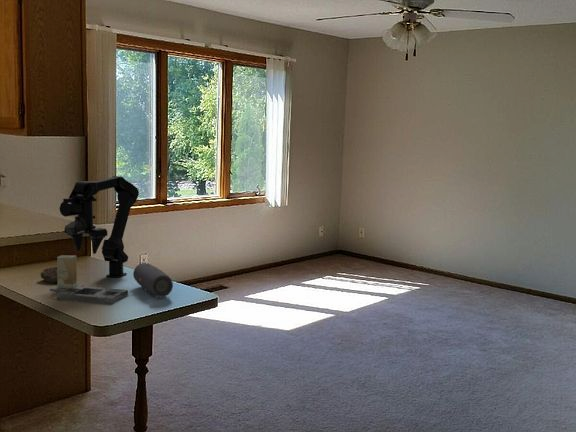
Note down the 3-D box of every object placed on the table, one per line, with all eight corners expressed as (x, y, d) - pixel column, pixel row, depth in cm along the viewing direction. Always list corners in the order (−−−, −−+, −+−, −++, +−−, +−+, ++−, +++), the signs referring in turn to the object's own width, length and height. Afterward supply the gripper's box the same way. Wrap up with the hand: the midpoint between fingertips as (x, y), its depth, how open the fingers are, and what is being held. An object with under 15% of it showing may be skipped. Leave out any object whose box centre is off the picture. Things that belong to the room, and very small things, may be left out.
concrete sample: (38, 280, 251) (38, 268, 250) (63, 276, 257) (62, 265, 256) (48, 286, 242) (48, 273, 241) (74, 282, 249) (73, 270, 248)
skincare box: (57, 288, 236) (55, 257, 235) (61, 285, 241) (60, 254, 239) (73, 288, 236) (72, 257, 234) (77, 285, 240) (76, 255, 239)
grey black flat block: (75, 290, 235) (75, 285, 235) (128, 295, 231) (127, 289, 230) (57, 299, 224) (57, 293, 224) (111, 303, 219) (111, 298, 219)
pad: (63, 284, 244) (63, 283, 244) (83, 286, 242) (83, 284, 242) (49, 290, 235) (49, 288, 235) (70, 292, 233) (70, 290, 233)
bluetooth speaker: (131, 287, 242) (131, 262, 240) (154, 284, 246) (154, 260, 245) (149, 302, 222) (149, 275, 221) (174, 298, 227) (174, 272, 226)
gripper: (52, 213, 239) (53, 252, 241) (85, 218, 230) (86, 258, 232) (75, 210, 248) (76, 248, 251) (107, 214, 239) (109, 253, 241)
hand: (86, 252), depth 243 cm, fingers open, 9 cm apart
